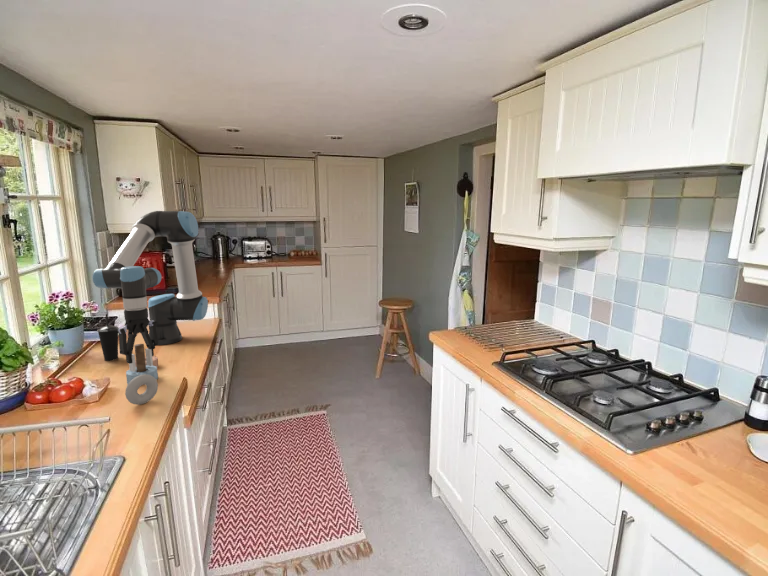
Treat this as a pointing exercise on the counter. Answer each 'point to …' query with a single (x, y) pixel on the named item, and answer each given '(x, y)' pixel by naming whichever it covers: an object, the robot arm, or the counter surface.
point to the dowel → (140, 357)
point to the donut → (136, 383)
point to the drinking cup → (109, 341)
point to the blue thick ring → (149, 371)
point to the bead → (155, 361)
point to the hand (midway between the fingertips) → (141, 367)
